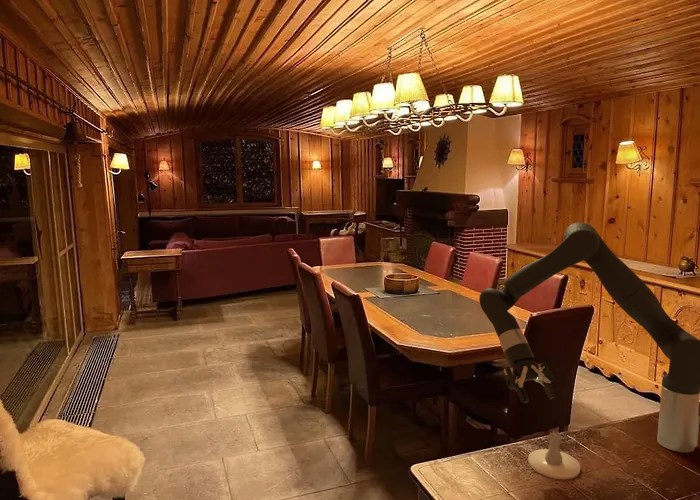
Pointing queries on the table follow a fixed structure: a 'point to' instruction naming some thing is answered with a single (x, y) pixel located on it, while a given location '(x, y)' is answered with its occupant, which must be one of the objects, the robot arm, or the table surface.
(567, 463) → the cream plate
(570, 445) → the table surface
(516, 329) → the robot arm
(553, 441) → the rook chess piece
